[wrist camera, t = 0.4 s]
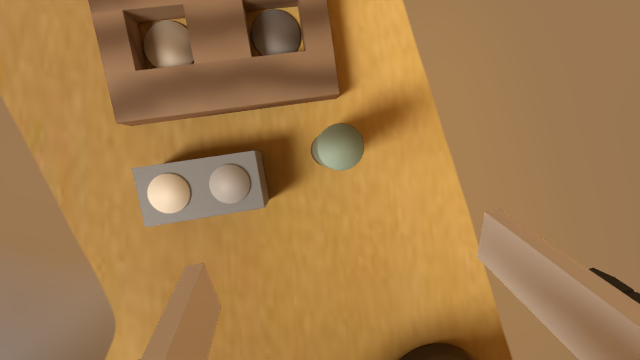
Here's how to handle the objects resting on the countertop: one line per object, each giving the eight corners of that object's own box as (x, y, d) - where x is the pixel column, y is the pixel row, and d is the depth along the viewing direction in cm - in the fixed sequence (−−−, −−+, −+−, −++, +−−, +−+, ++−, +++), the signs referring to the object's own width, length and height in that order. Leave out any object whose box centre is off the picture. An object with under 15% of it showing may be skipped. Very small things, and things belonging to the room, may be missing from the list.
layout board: (336, 98, 32) (339, 93, 29) (131, 125, 30) (116, 123, 27) (316, -43, 30) (318, -61, 27) (98, -23, 28) (79, -41, 26)
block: (269, 199, 32) (264, 208, 27) (169, 215, 31) (143, 227, 26) (261, 151, 31) (254, 150, 26) (158, 166, 30) (130, 168, 25)
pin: (345, 163, 32) (366, 166, 22) (313, 168, 32) (321, 173, 22) (340, 131, 32) (360, 120, 22) (308, 136, 32) (314, 126, 22)
